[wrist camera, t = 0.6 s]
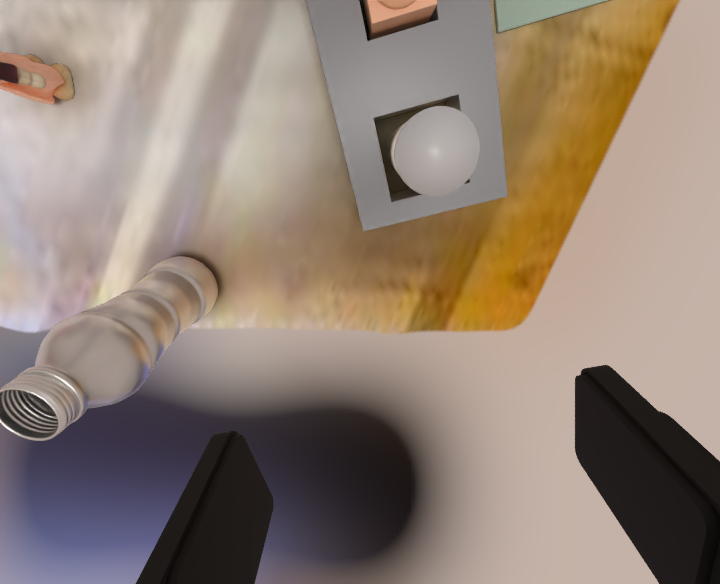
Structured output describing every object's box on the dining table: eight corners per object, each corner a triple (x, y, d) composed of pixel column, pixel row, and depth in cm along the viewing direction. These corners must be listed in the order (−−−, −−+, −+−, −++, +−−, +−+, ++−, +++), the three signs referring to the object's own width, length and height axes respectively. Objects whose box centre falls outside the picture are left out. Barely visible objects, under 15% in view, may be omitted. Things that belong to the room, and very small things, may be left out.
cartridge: (380, 127, 31) (387, 119, 21) (439, 111, 31) (474, 95, 21) (393, 186, 33) (404, 204, 23) (448, 172, 33) (484, 184, 23)
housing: (301, -34, 27) (288, -70, 23) (458, -87, 26) (477, -136, 21) (363, 219, 35) (363, 231, 30) (488, 189, 33) (507, 196, 29)
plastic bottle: (198, 239, 36) (18, 342, 17) (237, 294, 38) (114, 437, 20) (149, 267, 37) (-69, 391, 18) (189, 319, 39) (32, 475, 21)
